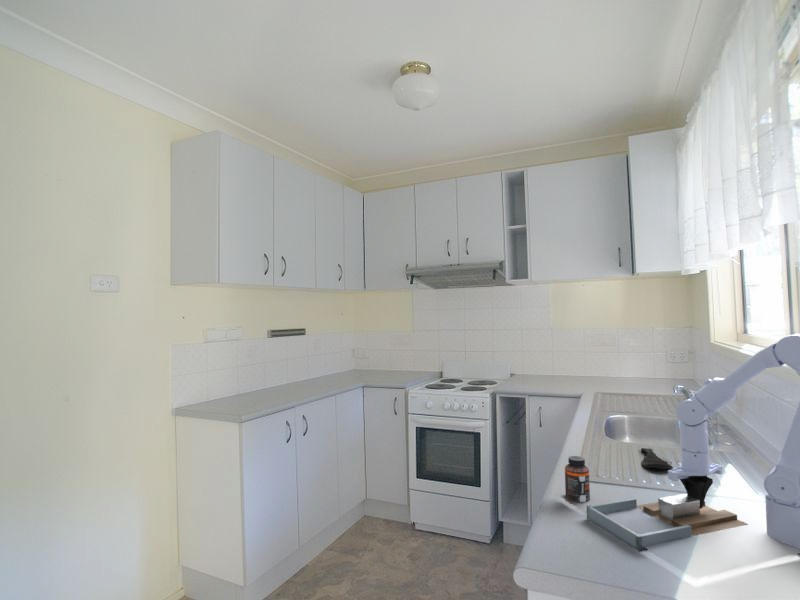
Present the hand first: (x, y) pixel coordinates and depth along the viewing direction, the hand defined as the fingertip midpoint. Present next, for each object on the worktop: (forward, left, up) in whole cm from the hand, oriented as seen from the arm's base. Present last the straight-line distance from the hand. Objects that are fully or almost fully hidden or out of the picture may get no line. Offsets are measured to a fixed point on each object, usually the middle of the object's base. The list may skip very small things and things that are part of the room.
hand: (696, 507), depth 110 cm
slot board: (0, +2, -2) cm, 3 cm away
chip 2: (0, +3, -1) cm, 4 cm away
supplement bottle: (+17, +20, -3) cm, 27 cm away
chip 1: (0, +7, -1) cm, 7 cm away
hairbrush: (+36, -23, -3) cm, 43 cm away
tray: (0, +18, -2) cm, 18 cm away
